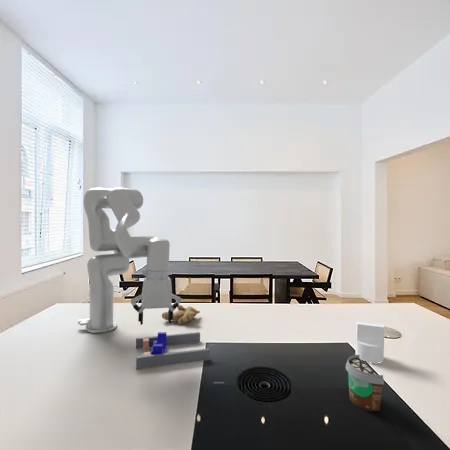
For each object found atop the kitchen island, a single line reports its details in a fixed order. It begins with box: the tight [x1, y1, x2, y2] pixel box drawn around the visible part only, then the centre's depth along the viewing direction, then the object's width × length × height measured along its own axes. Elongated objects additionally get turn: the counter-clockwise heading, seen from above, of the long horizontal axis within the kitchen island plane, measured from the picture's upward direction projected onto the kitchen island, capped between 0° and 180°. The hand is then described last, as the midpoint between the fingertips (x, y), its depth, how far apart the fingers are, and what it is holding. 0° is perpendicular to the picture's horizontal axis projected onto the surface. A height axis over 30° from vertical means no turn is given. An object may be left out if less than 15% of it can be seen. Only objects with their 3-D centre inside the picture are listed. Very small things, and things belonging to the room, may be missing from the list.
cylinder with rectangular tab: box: [354, 321, 385, 363], centre depth 106 cm, size 9×9×12 cm
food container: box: [345, 354, 385, 412], centre depth 81 cm, size 12×6×10 cm, turn 5°
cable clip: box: [150, 331, 167, 355], centre depth 105 cm, size 12×4×6 cm, turn 4°
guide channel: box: [135, 331, 211, 370], centre depth 107 cm, size 24×16×4 cm
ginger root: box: [161, 304, 201, 325], centre depth 141 cm, size 16×16×8 cm
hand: (155, 322), depth 106 cm, fingers open, 9 cm apart
